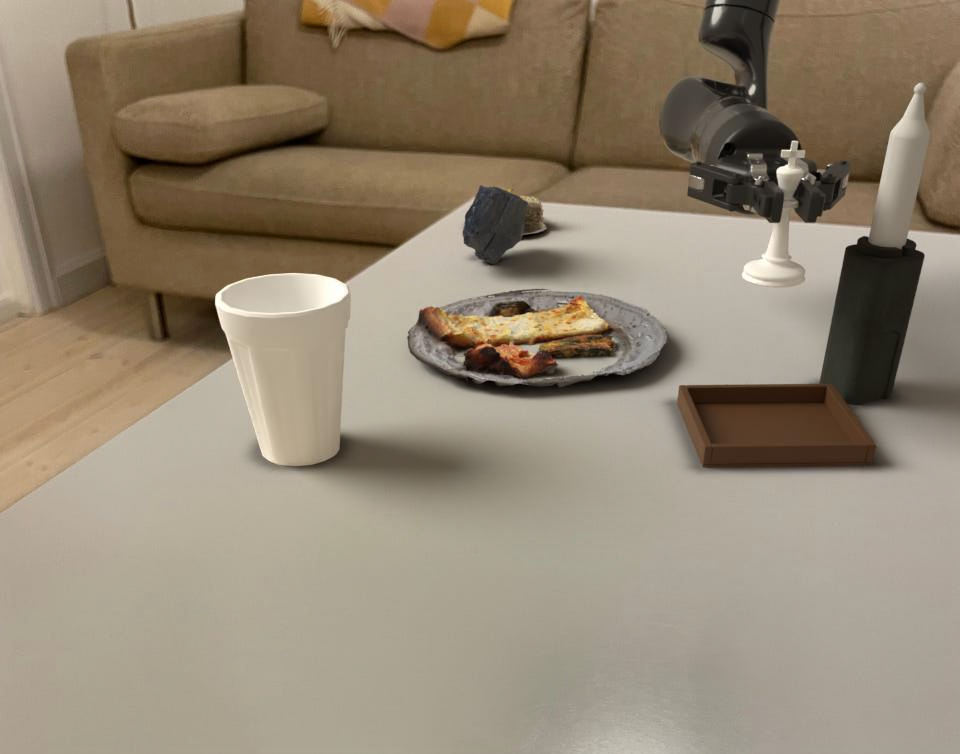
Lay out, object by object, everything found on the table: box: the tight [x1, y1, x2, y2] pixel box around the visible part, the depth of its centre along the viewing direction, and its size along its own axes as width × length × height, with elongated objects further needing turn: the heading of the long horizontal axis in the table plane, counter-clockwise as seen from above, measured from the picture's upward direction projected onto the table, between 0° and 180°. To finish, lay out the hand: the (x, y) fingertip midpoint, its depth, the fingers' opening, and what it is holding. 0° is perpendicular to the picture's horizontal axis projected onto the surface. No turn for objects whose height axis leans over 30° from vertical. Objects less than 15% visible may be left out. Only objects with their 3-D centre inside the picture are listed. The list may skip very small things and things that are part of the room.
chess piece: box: [741, 141, 806, 288], centre depth 80 cm, size 5×5×10 cm
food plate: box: [406, 288, 668, 388], centre depth 101 cm, size 25×23×4 cm
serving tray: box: [676, 383, 877, 468], centre depth 85 cm, size 13×12×2 cm
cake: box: [507, 187, 548, 236], centre depth 137 cm, size 10×10×5 cm
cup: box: [214, 272, 352, 467], centre depth 81 cm, size 10×10×13 cm
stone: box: [461, 184, 528, 265], centre depth 124 cm, size 14×6×10 cm, turn 170°
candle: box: [818, 82, 931, 406], centre depth 86 cm, size 5×5×25 cm
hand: (795, 208), depth 77 cm, fingers closed on chess piece
